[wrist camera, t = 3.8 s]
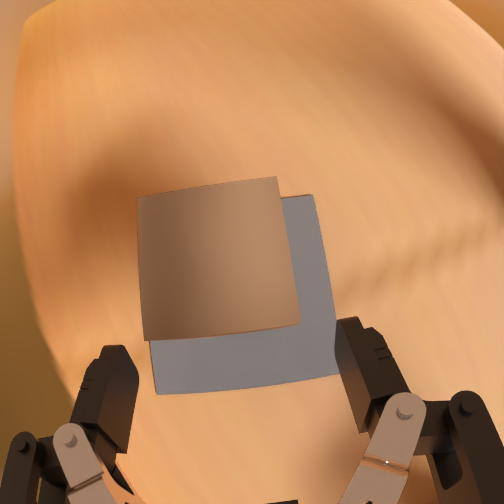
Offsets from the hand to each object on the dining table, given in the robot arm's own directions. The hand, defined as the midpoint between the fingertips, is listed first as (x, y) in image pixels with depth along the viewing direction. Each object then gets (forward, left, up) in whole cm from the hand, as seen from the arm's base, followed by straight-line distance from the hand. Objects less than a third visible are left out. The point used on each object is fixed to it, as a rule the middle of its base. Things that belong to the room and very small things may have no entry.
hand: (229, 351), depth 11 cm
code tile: (0, -3, -8) cm, 9 cm away
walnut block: (0, -3, -8) cm, 9 cm away
